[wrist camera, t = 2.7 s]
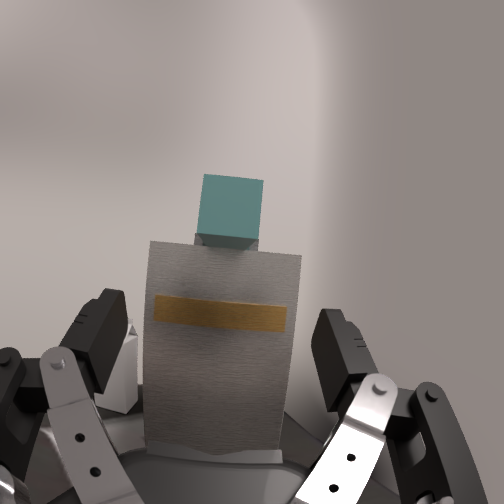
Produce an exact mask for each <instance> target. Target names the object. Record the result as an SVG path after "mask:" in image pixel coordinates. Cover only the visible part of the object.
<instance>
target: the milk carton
mask: <svg viewBox="0 0 504 504" xmlns="http://www.w3.org/2000/svg"><path fill="white" fill-rule="evenodd" d="M137 346H138V335H137V333H136V331H135V329H134V327H133V325H132V319H129V318H128V330H127V334H126V337H125V339H124V342H123V344H122V347H121V349H120V352H119V354H118V357H117V359H116V362H115V365H114V367H113V370H112V372H111V375H110V378H109V380H108V383H107V386H106V389H105V391H104V394H103V395H102V394H98V393H94V398H95V405H96V406H99V407H102V408H106V409H109V410H113V411H116V412H120V413H124V414H127V412H128V411H129V410H130V409H131V408H132V407H133V405H134V404H135V403H136V402H137V401H138V386H137Z"/></svg>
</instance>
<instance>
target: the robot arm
mask: <svg viewBox="0 0 504 504" xmlns="http://www.w3.org/2000/svg"><path fill="white" fill-rule="evenodd" d="M127 330H128V317H127V311H126V303H125V296H124V292H123V291H121V290H114V289H107V288H105V289H104V290H103V292H102V293H101V295H100V297H99V298H98V299H92V300H90V301H89V302H88V303H86V304H85V305H84V306H83V307H82V309H81V311H80V312H79V314H78V316H77V317H76V318H75V320H74V322H73V323H72V325H71V326H70V328H69V329H68V331H67V333H66V334H65V336H64V338H63V339H62V341H61V343H60V345H59V346H58V347H53V348H50V349H48V350H47V351H46V352H44V354H43V355H42V356H41V358H22V357H21V355H20V353H19V351H18V350H16V349H14V348H11V347H7V348H3V349H0V504H31V500H30V495H29V491H28V489H27V487H26V485H25V484H24V480H25V476H26V472H27V468H28V464H29V461H30V457H31V454H32V450H33V447H34V444H35V441H36V438H37V434H38V431H39V428H40V425H41V423H42V420H43V417H44V414H45V413H48V417H49V421H50V424H51V427H52V431H53V434H54V437H55V440H56V443H57V446H58V448H59V451H60V454H61V456H62V459H63V462H64V464H65V467H66V469H67V472H68V474H69V476H70V479H71V481H72V483H73V485H74V486H73V487H72V488H70V489H69V490H67V491H66V492H64V493H63V494H61V495H60V496H58V497H56V498H55V499H53V500H52V501H50V502H48V503H47V504H355V503H356V501H357V500H358V498H359V496H360V494H361V492H362V490H363V488H364V486H365V484H366V482H367V480H368V478H369V476H370V473H371V472H372V469H373V467H374V465H375V463H376V460H377V458H378V456H379V454H380V451H381V449H382V447H383V444H384V441H385V439H386V442H387V446H388V450H389V453H390V457H391V461H392V465H393V469H394V473H395V477H396V481H397V486H398V490H399V495H400V499H401V504H488V502H487V498H486V495H485V492H484V489H483V486H482V483H481V480H480V477H479V474H478V471H477V468H476V465H475V463H474V460H473V458H472V455H471V452H470V450H469V447H468V445H467V443H466V440H465V437H464V435H463V432H462V430H461V428H460V425H459V423H458V421H457V418H456V416H455V414H454V412H453V410H452V407H451V405H450V403H449V401H448V399H447V397H446V395H445V393H444V391H443V390H442V388H441V387H439V386H438V385H436V384H434V383H432V382H423V383H421V384H420V385H419V386H418V387H417V388H416V390H415V391H414V390H407V389H402V388H397V386H396V384H395V383H394V382H393V380H391V379H390V378H389V377H387V376H385V375H383V374H379V373H378V370H377V368H376V366H375V363H374V361H373V359H372V357H371V354H370V352H369V350H368V348H366V343H365V341H364V340H363V337H362V335H361V333H360V330H359V329H358V328H357V327H356V326H355V325H354V324H353V323H352V322H348V321H347V322H346V320H345V318H344V315H343V313H342V311H341V310H340V309H322V310H321V312H320V314H319V318H318V321H317V324H316V327H315V330H314V333H313V336H312V341H311V348H312V353H313V357H314V361H315V365H316V368H317V372H318V376H319V380H320V384H321V388H322V392H323V396H324V400H325V404H326V408H327V412H338V416H339V420H338V422H337V424H336V425H335V427H334V429H333V430H332V432H331V434H330V435H329V437H328V439H327V440H326V442H325V444H324V445H323V447H322V448H321V450H320V451H319V453H318V454H317V456H316V457H315V459H314V460H313V462H312V463H311V464H310V466H309V467H306V466H304V465H302V464H301V463H298V462H296V461H293V460H290V459H286V458H282V451H281V450H246V451H241V452H235V453H230V454H223V455H210V454H207V453H204V452H201V451H198V450H194V449H191V448H189V447H186V446H183V445H178V444H171V443H164V442H158V441H152V440H149V443H148V448H140V449H134V450H130V451H127V452H125V453H122V454H120V455H119V453H118V451H117V449H116V448H115V446H114V444H113V442H112V440H111V438H110V436H109V434H108V432H107V430H106V428H105V426H104V424H103V422H102V419H101V417H100V415H99V413H98V411H97V408H96V406H95V404H94V401H93V399H92V396H93V394H94V393H98V394H102V395H103V394H104V391H105V389H106V386H107V383H108V380H109V378H110V375H111V372H112V370H113V367H114V365H115V362H116V359H117V357H118V354H119V352H120V349H121V347H122V344H123V342H124V339H125V337H126V334H127ZM11 403H12V404H11ZM10 405H11V406H10ZM9 407H10V408H9ZM8 410H9V411H8ZM7 412H8V413H7ZM6 415H7V416H6ZM419 432H421V435H422V438H423V441H424V443H425V447H426V451H425V448H424V445H423V442H422V439H421V436H420V433H419Z"/></svg>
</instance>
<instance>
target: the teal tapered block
mask: <svg viewBox="0 0 504 504" xmlns="http://www.w3.org/2000/svg"><path fill="white" fill-rule="evenodd" d="M262 191H263V180H257V179H249V178H240V177H230V176H220V175H208V174H204V178H203V186H202V193H201V201H200V209H199V218H198V226H197V234H198V235H199V237H200V238H201V239H202V241H203V242H204V244H205V245H206V246H209V247H219V248H229V249H240V250H246V249H247V248H248V247H249V246H251V245H252V244H253V243H254V242H255V241H256V240H258V236H259V225H260V213H261V202H262Z"/></svg>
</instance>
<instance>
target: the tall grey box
mask: <svg viewBox="0 0 504 504" xmlns="http://www.w3.org/2000/svg"><path fill="white" fill-rule="evenodd" d="M258 243H259V239H258V240H256V241H255V242H254V243H253V244H252V245H251V246H249V247H248V248H247V249H246V250H240V249H229V248H219V247H209V246H206V245H205V244H204V242H203V241H202V239H201V238H200V237H199V235H198V234H197V233H195V240H194V245H188V244H178V243H168V242H157V241H150V249H149V258H148V269H147V281H146V294H145V311H144V331H143V333H144V334H143V411H144V432H145V447H146V448H148V443H149V440H152V441H158V442H164V443H171V444H178V445H183V446H186V447H189V448H191V449H194V450H198V451H201V452H204V453H207V454H210V455H223V454H230V453H235V452H241V451H246V450H278V445H279V439H280V433H281V426H282V420H283V413H284V407H285V400H286V393H287V386H288V378H289V370H290V363H291V355H292V347H293V338H294V330H295V321H296V311H297V301H298V291H299V280H300V269H301V257H302V256H301V255H289V254H280V253H270V252H259V251H258Z"/></svg>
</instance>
